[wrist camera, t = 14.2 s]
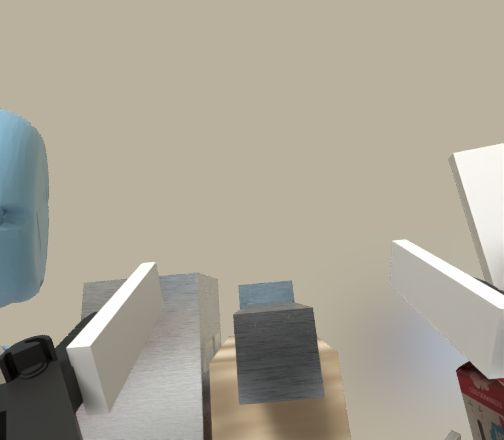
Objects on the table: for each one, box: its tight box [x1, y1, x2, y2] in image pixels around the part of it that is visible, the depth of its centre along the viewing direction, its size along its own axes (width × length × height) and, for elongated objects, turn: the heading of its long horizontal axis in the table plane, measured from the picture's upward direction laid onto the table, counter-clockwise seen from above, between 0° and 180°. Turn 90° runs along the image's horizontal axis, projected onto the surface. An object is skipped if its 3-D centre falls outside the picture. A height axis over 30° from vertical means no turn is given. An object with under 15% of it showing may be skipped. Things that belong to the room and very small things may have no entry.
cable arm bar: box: [233, 281, 325, 405], centre depth 24 cm, size 22×6×6 cm, turn 178°
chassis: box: [76, 273, 221, 440], centre depth 37 cm, size 16×14×30 cm
